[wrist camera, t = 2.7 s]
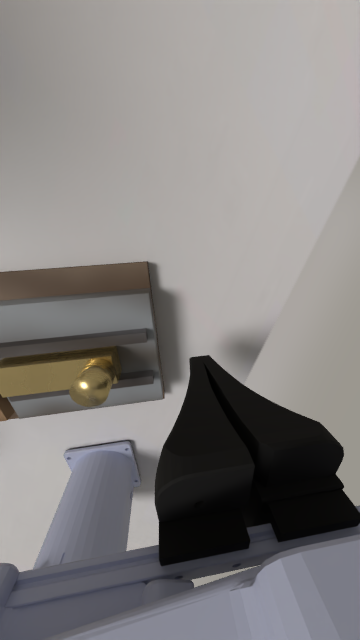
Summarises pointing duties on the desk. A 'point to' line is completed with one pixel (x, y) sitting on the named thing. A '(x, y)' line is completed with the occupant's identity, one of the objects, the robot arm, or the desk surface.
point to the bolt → (63, 374)
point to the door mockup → (81, 329)
